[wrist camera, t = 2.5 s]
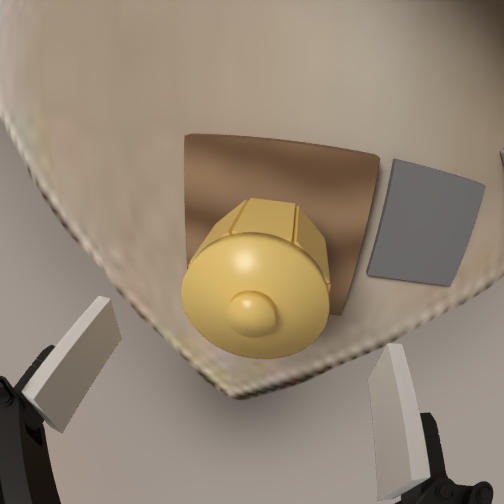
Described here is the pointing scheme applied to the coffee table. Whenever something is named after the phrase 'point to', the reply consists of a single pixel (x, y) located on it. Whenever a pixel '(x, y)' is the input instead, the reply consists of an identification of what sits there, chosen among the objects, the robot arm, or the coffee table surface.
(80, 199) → the coffee table surface
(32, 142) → the coffee table surface
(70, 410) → the robot arm
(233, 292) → the yellow lidded jar
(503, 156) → the coffee box
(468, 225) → the mat
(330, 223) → the post base
